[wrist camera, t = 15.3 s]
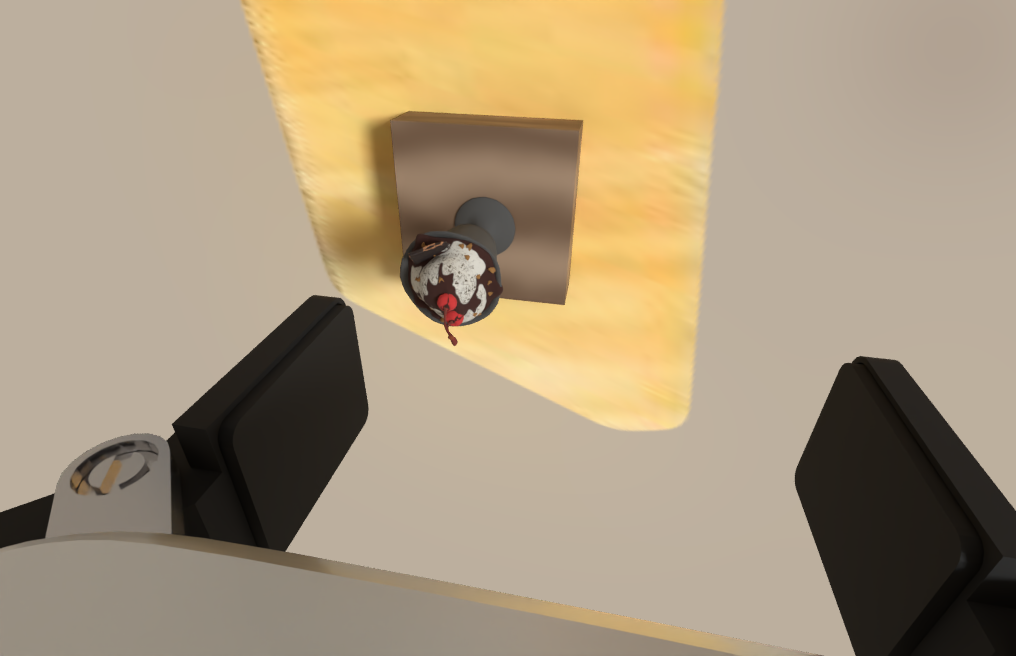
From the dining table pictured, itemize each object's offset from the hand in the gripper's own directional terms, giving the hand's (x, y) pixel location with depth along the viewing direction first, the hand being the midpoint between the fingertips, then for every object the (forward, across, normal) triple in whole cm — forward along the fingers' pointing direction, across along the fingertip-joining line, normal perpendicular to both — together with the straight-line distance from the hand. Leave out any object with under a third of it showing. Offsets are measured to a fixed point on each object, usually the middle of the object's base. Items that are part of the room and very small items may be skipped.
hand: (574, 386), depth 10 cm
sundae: (+31, +9, +9) cm, 33 cm away
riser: (+34, +9, +8) cm, 36 cm away
